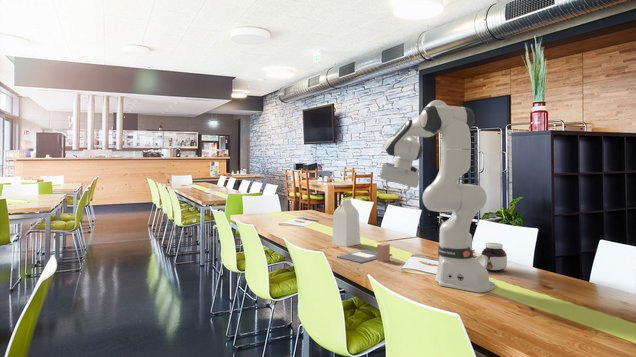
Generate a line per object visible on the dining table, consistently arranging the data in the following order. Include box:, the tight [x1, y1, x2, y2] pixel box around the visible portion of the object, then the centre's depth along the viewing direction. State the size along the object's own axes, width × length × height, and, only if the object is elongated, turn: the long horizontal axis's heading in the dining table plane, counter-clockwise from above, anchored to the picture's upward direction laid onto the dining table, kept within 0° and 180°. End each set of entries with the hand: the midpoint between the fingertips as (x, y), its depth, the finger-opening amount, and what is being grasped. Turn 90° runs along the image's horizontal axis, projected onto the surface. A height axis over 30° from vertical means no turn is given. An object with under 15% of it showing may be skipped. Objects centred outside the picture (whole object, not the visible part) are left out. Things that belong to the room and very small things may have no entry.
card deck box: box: [376, 242, 391, 263], centre depth 193 cm, size 4×5×8 cm
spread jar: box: [474, 242, 508, 273], centre depth 175 cm, size 12×11×12 cm
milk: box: [331, 198, 361, 247], centre depth 233 cm, size 12×12×26 cm
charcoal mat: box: [336, 249, 393, 264], centre depth 202 cm, size 16×24×1 cm, turn 133°
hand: (395, 191), depth 210 cm, fingers open, 8 cm apart
